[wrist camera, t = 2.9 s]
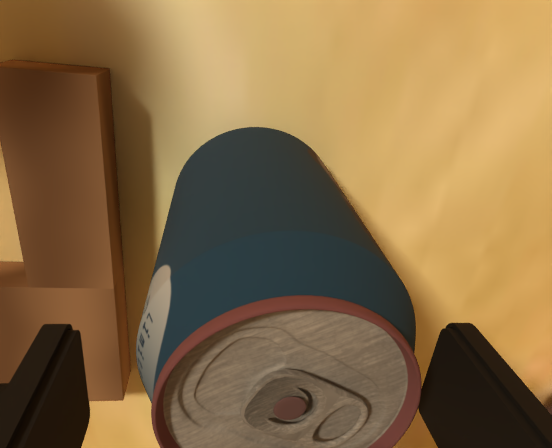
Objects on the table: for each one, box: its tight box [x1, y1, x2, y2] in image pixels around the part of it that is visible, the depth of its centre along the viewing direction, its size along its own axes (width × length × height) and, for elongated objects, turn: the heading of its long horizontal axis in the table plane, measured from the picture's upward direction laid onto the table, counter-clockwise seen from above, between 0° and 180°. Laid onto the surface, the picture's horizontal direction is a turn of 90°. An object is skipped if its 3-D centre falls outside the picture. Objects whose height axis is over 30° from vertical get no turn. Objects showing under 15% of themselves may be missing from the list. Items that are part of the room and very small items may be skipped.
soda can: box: [136, 127, 421, 448], centre depth 14 cm, size 7×7×12 cm
